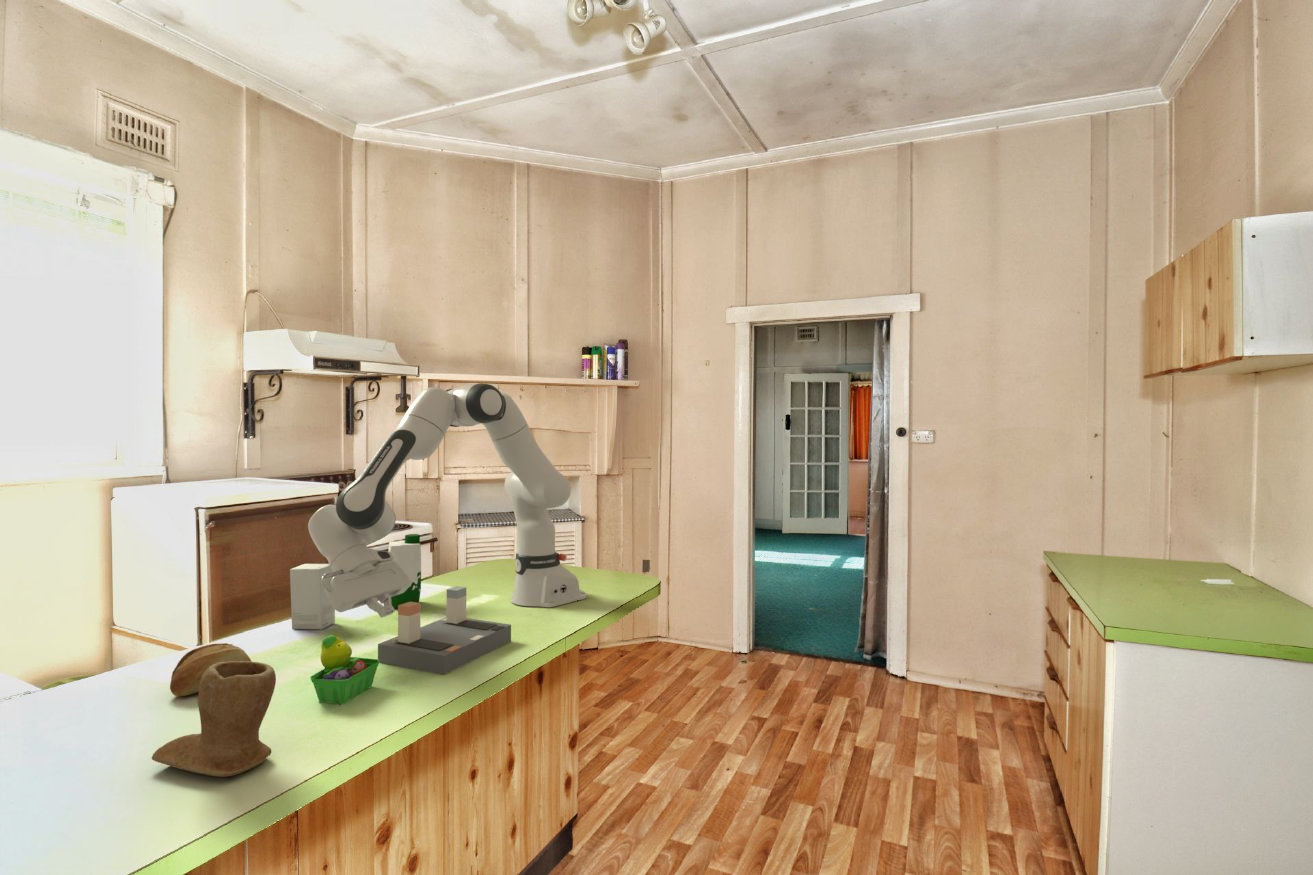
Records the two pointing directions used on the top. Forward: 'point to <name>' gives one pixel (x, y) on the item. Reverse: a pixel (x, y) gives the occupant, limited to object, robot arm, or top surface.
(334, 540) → the robot arm
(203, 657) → the bread roll
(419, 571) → the milk carton
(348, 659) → the fruit basket
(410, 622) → the switch
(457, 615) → the switch
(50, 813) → the top surface
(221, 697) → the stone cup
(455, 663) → the console
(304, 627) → the skincare box
